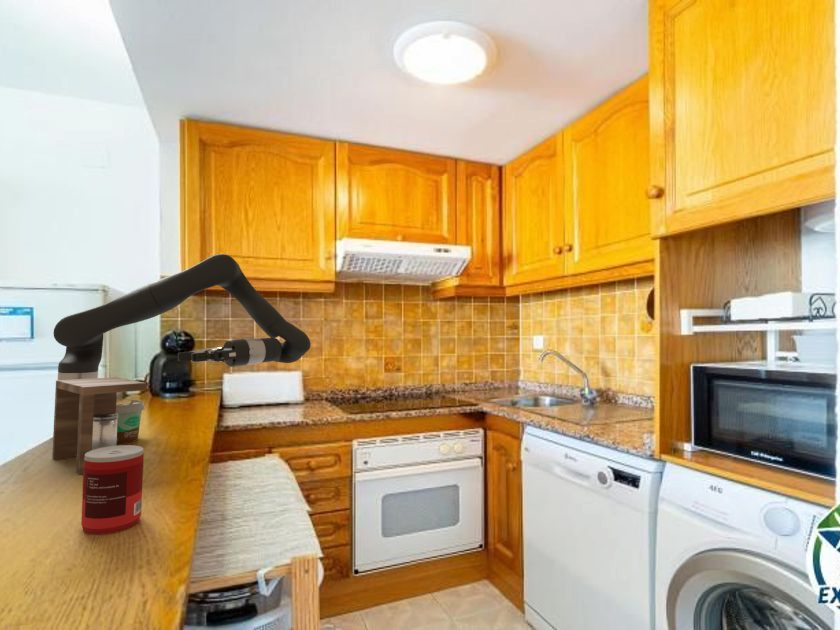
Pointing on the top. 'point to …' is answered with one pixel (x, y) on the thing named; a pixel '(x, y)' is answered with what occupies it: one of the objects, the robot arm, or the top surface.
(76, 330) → the robot arm
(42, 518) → the top surface
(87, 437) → the walnut shelf
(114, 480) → the canned food
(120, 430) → the food container
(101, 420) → the steel tin
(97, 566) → the top surface
